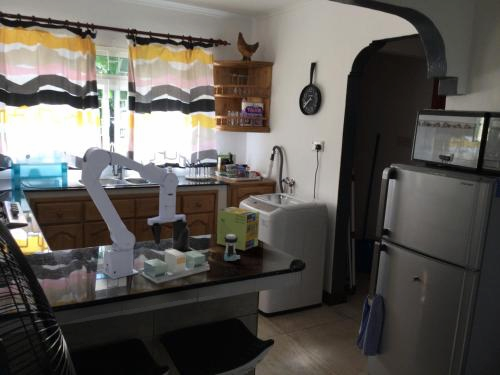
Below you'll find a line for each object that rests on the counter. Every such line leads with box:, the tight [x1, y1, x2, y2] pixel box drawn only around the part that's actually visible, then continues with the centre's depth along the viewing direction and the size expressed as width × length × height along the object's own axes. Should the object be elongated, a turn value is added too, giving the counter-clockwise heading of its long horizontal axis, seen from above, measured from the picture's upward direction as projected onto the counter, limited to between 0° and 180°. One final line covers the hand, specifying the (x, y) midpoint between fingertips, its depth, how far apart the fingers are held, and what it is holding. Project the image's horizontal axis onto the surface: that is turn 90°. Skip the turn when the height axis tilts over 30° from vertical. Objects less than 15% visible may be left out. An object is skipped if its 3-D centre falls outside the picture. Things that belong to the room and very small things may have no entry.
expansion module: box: [164, 248, 186, 273], centre depth 147 cm, size 4×7×6 cm, turn 44°
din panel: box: [139, 250, 211, 284], centre depth 147 cm, size 22×11×5 cm, turn 134°
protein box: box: [216, 206, 260, 251], centre depth 184 cm, size 10×15×16 cm
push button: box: [223, 234, 241, 262], centre depth 163 cm, size 7×5×10 cm
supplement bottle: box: [171, 219, 190, 252], centre depth 174 cm, size 7×7×12 cm
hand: (166, 241), depth 151 cm, fingers open, 7 cm apart
